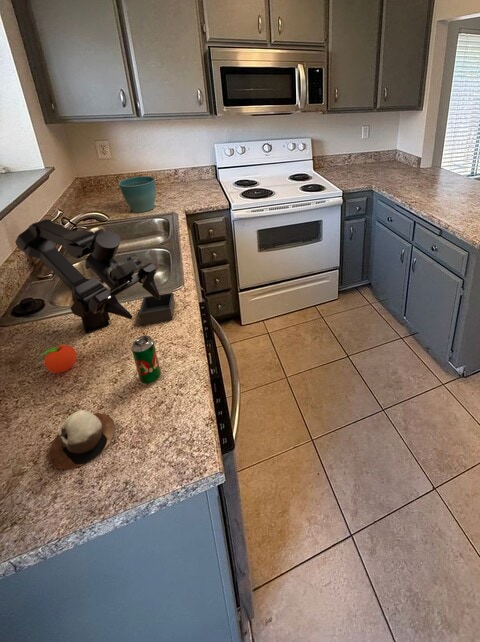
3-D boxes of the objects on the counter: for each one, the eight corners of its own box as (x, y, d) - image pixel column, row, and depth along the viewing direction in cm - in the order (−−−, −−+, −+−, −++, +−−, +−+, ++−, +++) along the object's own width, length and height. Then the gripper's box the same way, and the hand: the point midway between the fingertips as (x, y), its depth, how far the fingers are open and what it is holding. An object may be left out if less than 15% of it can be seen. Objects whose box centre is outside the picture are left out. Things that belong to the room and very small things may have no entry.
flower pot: (129, 218, 192) (122, 188, 186) (121, 208, 205) (115, 180, 199) (164, 209, 203) (158, 181, 197) (154, 201, 216) (149, 174, 210)
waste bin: (141, 325, 112) (138, 314, 111) (146, 307, 120) (143, 297, 119) (172, 319, 115) (170, 308, 113) (175, 303, 123) (173, 292, 121)
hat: (31, 450, 75) (57, 399, 77) (79, 442, 83) (101, 397, 86) (58, 481, 69) (85, 424, 71) (107, 470, 77) (130, 419, 80)
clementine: (39, 382, 92) (30, 361, 89) (50, 362, 98) (42, 342, 96) (74, 375, 94) (67, 354, 91) (83, 356, 100) (76, 336, 98)
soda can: (155, 366, 97) (147, 331, 92) (164, 376, 94) (156, 340, 89) (136, 378, 93) (126, 342, 89) (145, 388, 90) (136, 351, 86)
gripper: (79, 268, 87) (123, 313, 85) (143, 237, 102) (181, 274, 101) (71, 292, 93) (112, 334, 91) (133, 259, 108) (169, 295, 107)
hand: (146, 307), depth 98 cm, fingers open, 9 cm apart
